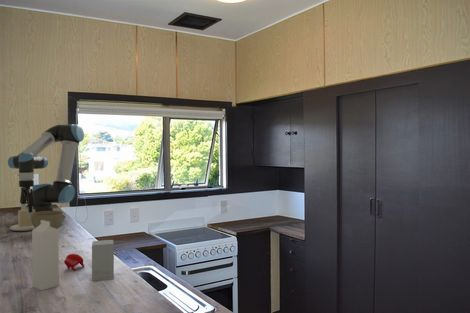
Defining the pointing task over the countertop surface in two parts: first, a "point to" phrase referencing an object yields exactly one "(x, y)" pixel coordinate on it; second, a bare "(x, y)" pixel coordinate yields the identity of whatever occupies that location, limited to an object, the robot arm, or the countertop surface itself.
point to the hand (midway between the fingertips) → (26, 216)
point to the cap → (73, 261)
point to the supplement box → (102, 260)
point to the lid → (23, 222)
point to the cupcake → (62, 217)
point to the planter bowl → (47, 218)
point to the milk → (45, 256)
